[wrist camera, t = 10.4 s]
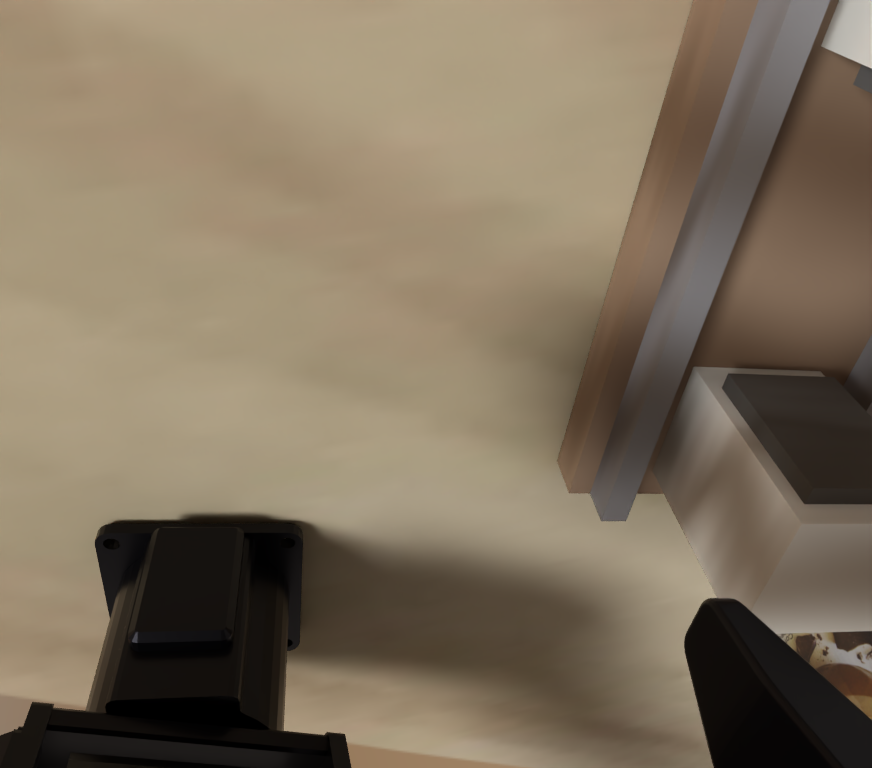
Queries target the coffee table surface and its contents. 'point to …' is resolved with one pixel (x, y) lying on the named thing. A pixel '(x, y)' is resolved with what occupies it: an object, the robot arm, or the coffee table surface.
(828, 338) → the rail
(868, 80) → the off-white square prism
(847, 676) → the coffee box
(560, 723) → the coffee table surface
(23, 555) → the coffee table surface
